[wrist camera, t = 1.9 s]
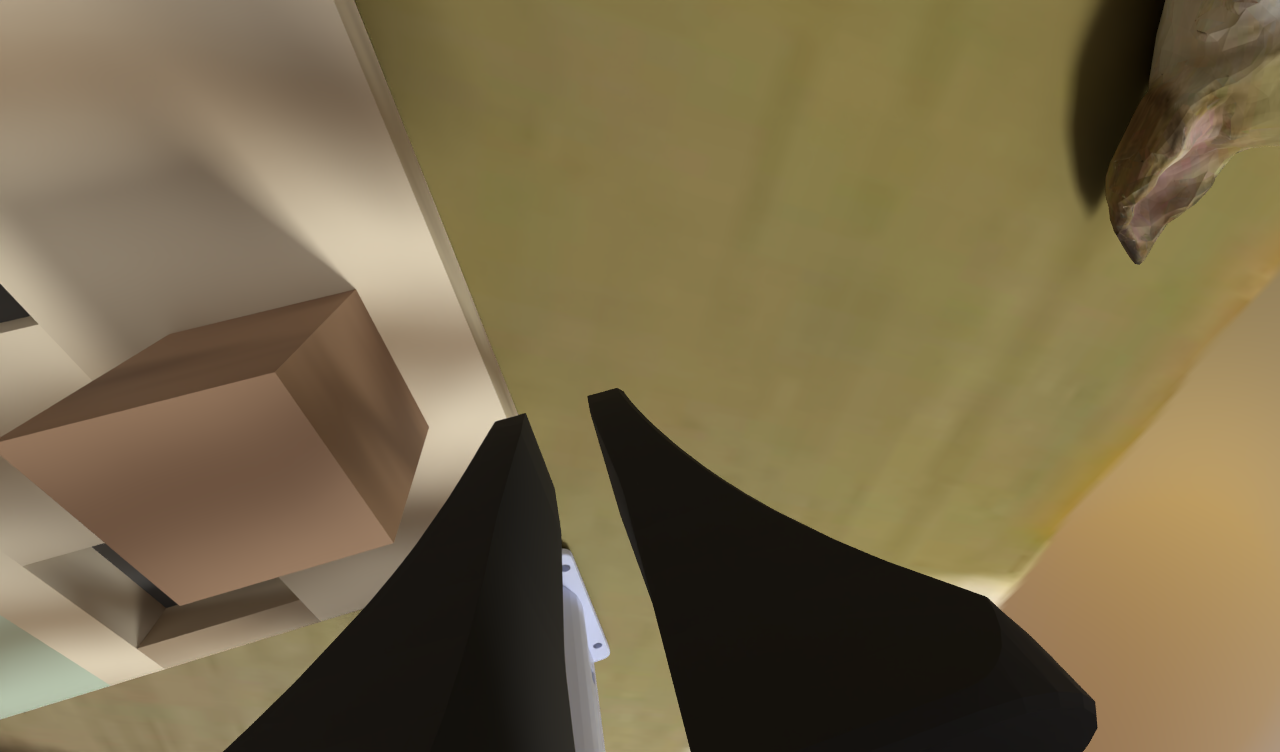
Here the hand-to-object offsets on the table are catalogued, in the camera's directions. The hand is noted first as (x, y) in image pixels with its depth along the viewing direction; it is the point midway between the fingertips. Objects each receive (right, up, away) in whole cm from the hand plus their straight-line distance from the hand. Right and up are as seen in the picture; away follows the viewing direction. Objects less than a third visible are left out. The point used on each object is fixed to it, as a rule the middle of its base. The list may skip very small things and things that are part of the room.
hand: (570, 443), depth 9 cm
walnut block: (-9, +1, +5) cm, 10 cm away
